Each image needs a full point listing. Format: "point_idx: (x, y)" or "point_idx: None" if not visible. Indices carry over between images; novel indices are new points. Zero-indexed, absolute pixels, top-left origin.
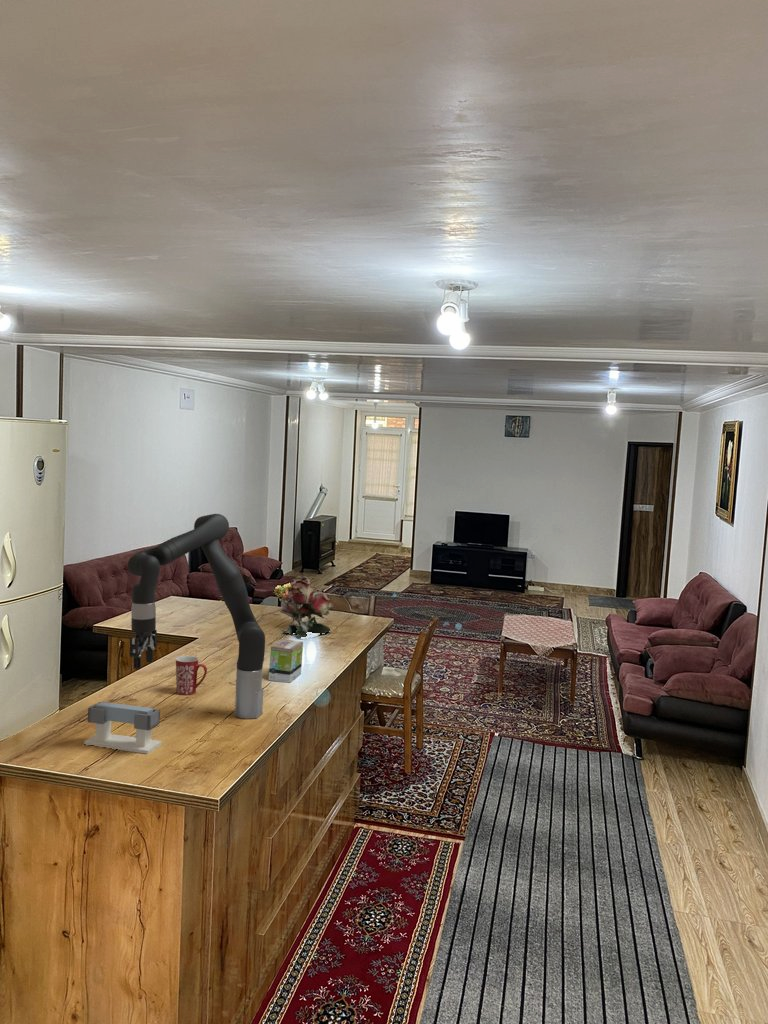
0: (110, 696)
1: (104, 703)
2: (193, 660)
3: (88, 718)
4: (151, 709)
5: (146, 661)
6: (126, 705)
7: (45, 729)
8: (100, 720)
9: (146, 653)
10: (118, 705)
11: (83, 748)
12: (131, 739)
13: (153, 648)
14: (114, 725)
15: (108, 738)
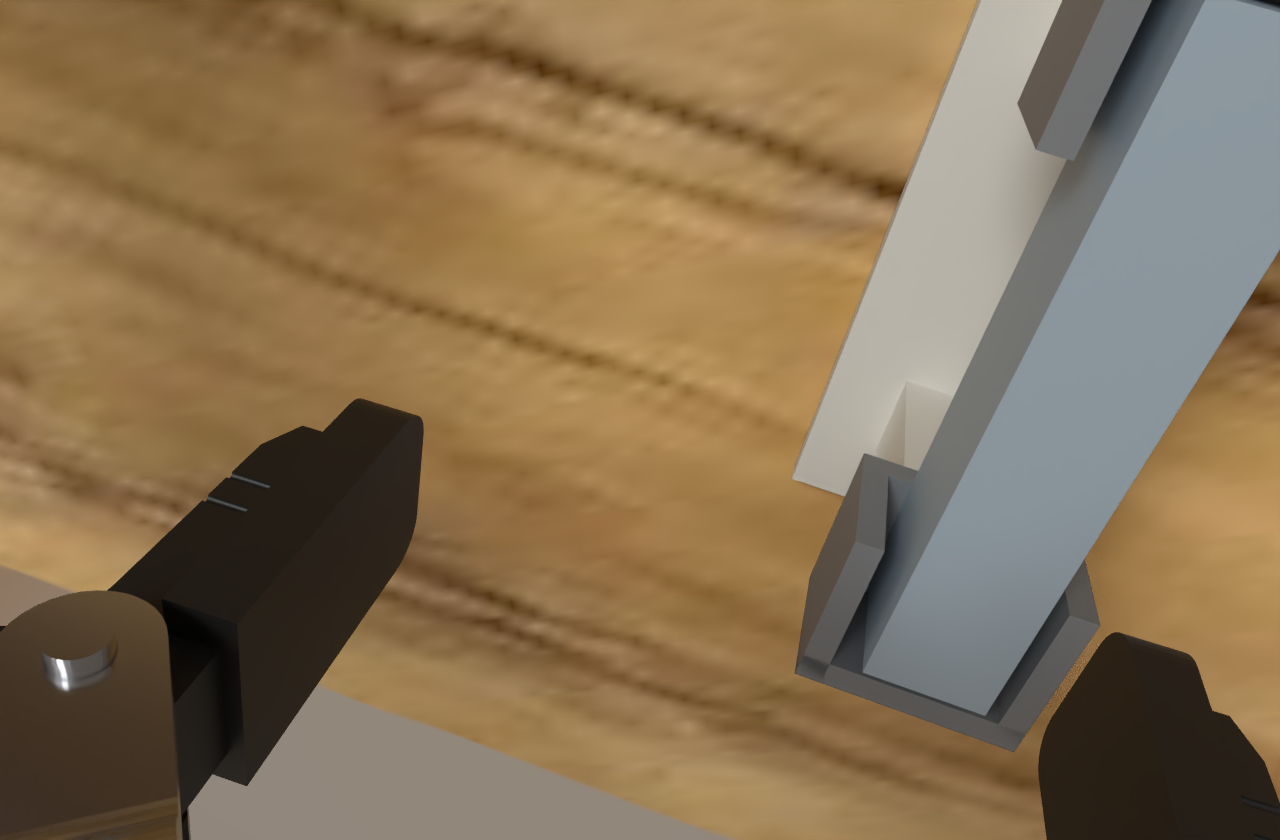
0: (15, 507)
1: (927, 642)
2: None
3: None
4: (1263, 7)
5: (409, 539)
6: (1017, 410)
7: (698, 770)
8: None
9: (292, 702)
10: (1016, 500)
11: None
12: (977, 191)
13: (103, 660)
14: (554, 395)
15: (943, 393)
